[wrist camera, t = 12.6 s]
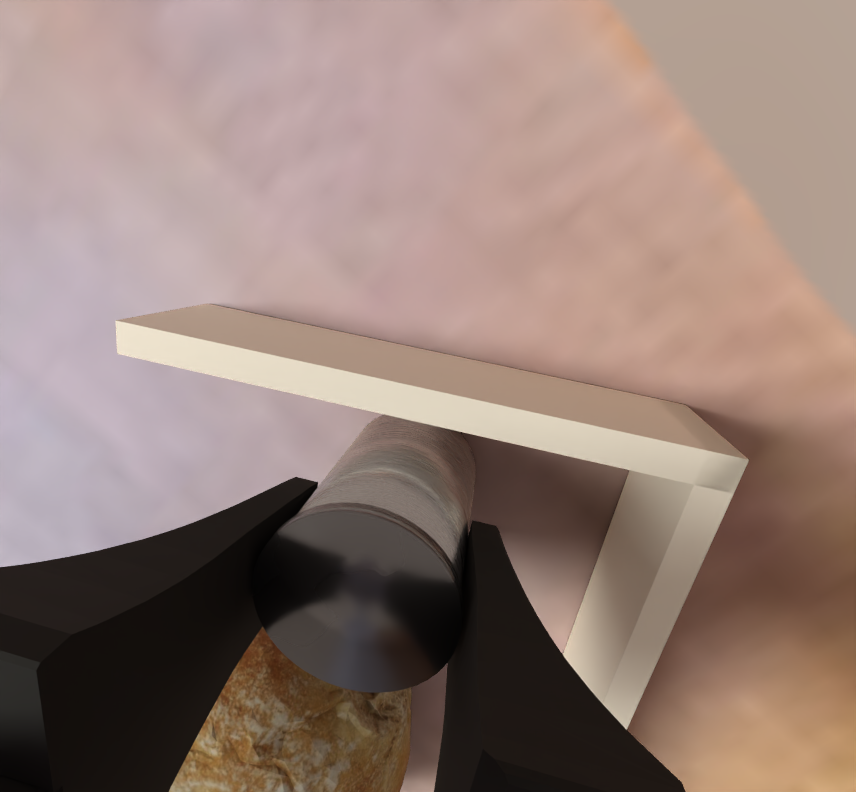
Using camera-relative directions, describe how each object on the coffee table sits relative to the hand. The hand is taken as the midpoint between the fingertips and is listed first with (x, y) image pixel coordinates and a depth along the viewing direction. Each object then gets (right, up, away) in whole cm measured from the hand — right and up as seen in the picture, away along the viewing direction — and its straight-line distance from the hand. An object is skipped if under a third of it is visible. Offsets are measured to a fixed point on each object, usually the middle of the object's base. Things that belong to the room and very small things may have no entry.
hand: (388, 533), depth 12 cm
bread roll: (-4, -8, +7) cm, 11 cm away
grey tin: (+1, +1, +3) cm, 3 cm away
